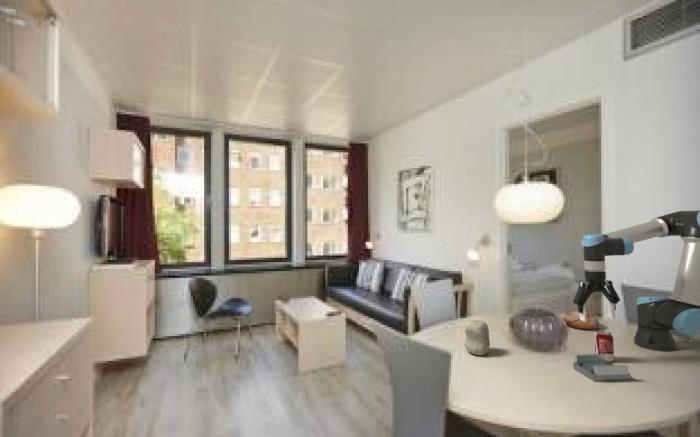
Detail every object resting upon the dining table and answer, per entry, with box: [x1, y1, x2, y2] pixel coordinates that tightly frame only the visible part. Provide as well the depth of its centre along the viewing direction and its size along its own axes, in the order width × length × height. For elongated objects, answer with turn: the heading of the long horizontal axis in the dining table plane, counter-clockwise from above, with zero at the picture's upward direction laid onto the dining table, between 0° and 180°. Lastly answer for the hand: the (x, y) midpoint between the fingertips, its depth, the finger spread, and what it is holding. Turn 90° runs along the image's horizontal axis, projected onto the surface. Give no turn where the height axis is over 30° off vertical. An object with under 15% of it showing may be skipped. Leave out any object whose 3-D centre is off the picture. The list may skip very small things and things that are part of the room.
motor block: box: [572, 353, 631, 382], centre depth 140 cm, size 14×13×6 cm
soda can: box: [593, 329, 615, 363], centre depth 153 cm, size 7×7×12 cm
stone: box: [464, 319, 491, 356], centre depth 166 cm, size 11×11×15 cm
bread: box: [562, 309, 601, 331], centre depth 200 cm, size 16×20×10 cm
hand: (597, 319), depth 153 cm, fingers open, 13 cm apart
